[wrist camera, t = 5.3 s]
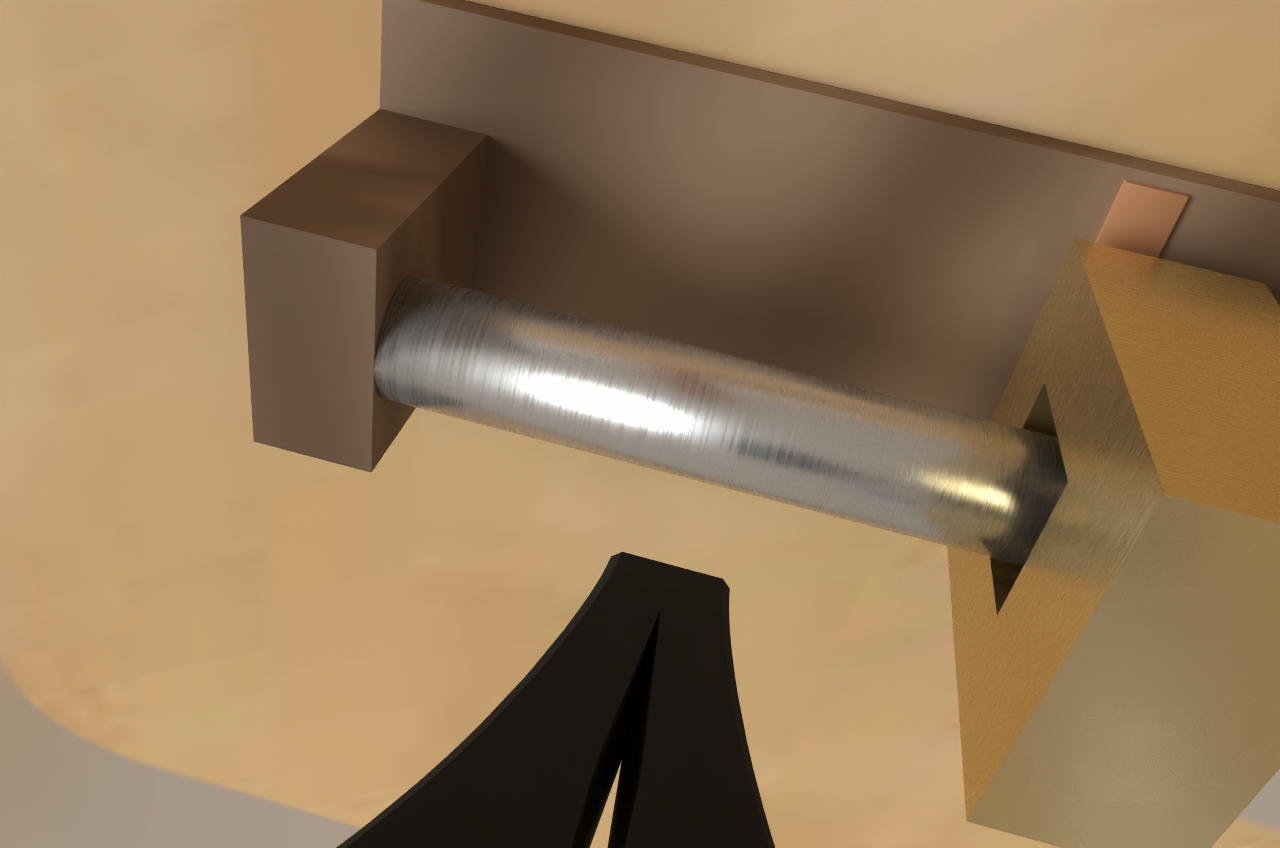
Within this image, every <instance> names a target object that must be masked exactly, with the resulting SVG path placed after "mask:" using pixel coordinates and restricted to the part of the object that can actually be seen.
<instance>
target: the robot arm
mask: <svg viewBox="0 0 1280 848" xmlns="http://www.w3.org/2000/svg"><path fill="white" fill-rule="evenodd" d="M729 592H730V588H729V587H728V585H727V584H726V583H725V581H724V580H723V579H721V578H718V577H714V576H710V575H707V574H703V573H699V572H695V571H692V570H688V569H684V568H681V567H677V566H673V565H669V564H666V563H662V562H658V561H654V560H651V559H647V558H643V557H640V556H636V555H632V554H628V553H625V552H621V553H619V554H616V555H614V556H611V558H610V560H609V562H608V564H607V566H606V568H605V570H604V572H603V574H602V576H601V577H600V579H599V581H598V582H597V584H596V586H595V587H594V589H593V590H592V592H591V593H590V595H589V596H588V598H587V599H586V601H585V602H584V604H583V605H582V606H581V608H580V609H579V610H578V612H577V613H576V615H575V616H574V617H573V619H572V620H571V621H570V623H569V624H568V625H567V627H566V628H565V629H564V631H563V632H562V633H561V634H560V635H559V637H558V638H557V639H556V640H555V642H554V643H553V644H552V645H551V646H550V648H549V649H548V650H547V651H546V652H545V654H544V655H543V656H542V657H541V659H540V660H539V661H538V662H537V663H536V665H535V666H534V667H533V668H532V669H531V671H530V672H529V673H528V674H527V675H526V676H525V677H524V679H523V680H522V681H521V682H520V683H519V684H518V685H517V686H516V687H515V688H514V689H513V690H512V691H511V692H510V694H509V695H508V696H507V697H506V698H505V699H504V700H503V701H502V702H501V703H500V704H499V705H498V706H497V707H496V708H495V709H494V710H493V712H492V713H491V714H490V715H489V716H488V717H487V718H486V719H485V720H484V721H483V722H482V723H481V724H480V725H479V726H478V727H477V728H476V729H475V730H474V731H473V732H472V733H471V734H470V735H469V736H468V737H467V738H466V739H465V740H464V741H463V742H462V743H461V744H460V745H459V746H458V747H456V748H455V749H454V750H453V751H452V752H451V753H450V754H449V755H448V756H447V757H446V758H445V759H444V760H442V761H441V762H440V763H439V764H438V765H437V766H436V767H435V768H434V769H432V770H431V771H430V772H429V773H428V774H427V775H426V776H425V777H424V778H422V779H421V780H420V781H419V782H418V783H417V784H416V785H414V786H413V787H412V788H411V789H409V790H408V791H407V792H406V793H405V794H403V795H402V796H401V797H400V798H399V799H397V800H396V801H395V802H394V803H393V804H391V805H390V806H389V807H388V808H386V809H385V810H384V811H383V812H382V813H380V814H379V815H378V816H377V817H376V818H374V819H373V820H372V821H371V822H369V823H368V824H367V825H365V826H364V827H363V828H362V829H360V830H359V831H358V832H357V833H355V834H354V835H353V836H351V837H350V838H349V839H347V840H346V841H345V842H344V843H342V844H341V845H339V846H338V847H337V848H590V845H591V843H592V840H593V837H594V834H595V832H596V829H597V826H598V823H599V821H600V818H601V815H602V813H603V810H604V807H605V804H606V802H607V799H608V796H609V793H610V791H611V788H612V785H613V782H614V780H615V777H616V774H617V771H618V769H619V766H620V763H621V768H620V774H619V780H618V787H617V793H616V799H615V805H614V811H613V817H612V823H611V830H610V836H609V842H608V848H775V846H774V842H773V839H772V836H771V833H770V829H769V826H768V822H767V819H766V815H765V812H764V809H763V805H762V801H761V797H760V793H759V789H758V786H757V782H756V778H755V774H754V770H753V766H752V762H751V757H750V753H749V749H748V745H747V740H746V734H745V729H744V724H743V719H742V714H741V709H740V704H739V699H738V693H737V686H736V680H735V673H734V665H733V657H732V649H731V638H730V624H729ZM621 760H622V762H621Z"/></svg>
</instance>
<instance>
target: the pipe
mask: <svg viewBox="0 0 1280 848" xmlns="http://www.w3.org/2000/svg"><path fill="white" fill-rule="evenodd" d="M374 384H375V389H376V392H377V394H378V395H379V397H380V398H382V399H386V400H390V401H394V402H397V403H401V404H405V405H409V406H413V407H417V408H421V409H424V410H428V411H432V412H436V413H440V414H444V415H447V416H451V417H455V418H459V419H463V420H467V421H470V422H474V423H478V424H482V425H486V426H490V427H493V428H497V429H501V430H505V431H509V432H513V433H516V434H520V435H524V436H528V437H532V438H536V439H539V440H543V441H547V442H551V443H555V444H559V445H563V446H566V447H570V448H574V449H578V450H582V451H586V452H589V453H593V454H597V455H601V456H605V457H609V458H612V459H616V460H620V461H624V462H628V463H632V464H635V465H639V466H643V467H647V468H651V469H655V470H658V471H662V472H666V473H670V474H674V475H678V476H681V477H685V478H689V479H693V480H697V481H701V482H705V483H708V484H712V485H716V486H720V487H724V488H728V489H731V490H735V491H739V492H743V493H747V494H751V495H754V496H758V497H762V498H766V499H770V500H774V501H777V502H781V503H785V504H789V505H793V506H797V507H800V508H804V509H808V510H812V511H816V512H820V513H823V514H827V515H831V516H835V517H839V518H843V519H847V520H850V521H854V522H858V523H862V524H866V525H870V526H873V527H877V528H881V529H885V530H889V531H893V532H896V533H900V534H904V535H908V536H912V537H916V538H919V539H923V540H927V541H931V542H935V543H939V544H942V545H946V546H950V547H954V548H958V549H962V550H965V551H969V552H973V553H977V554H981V555H985V556H989V557H992V558H996V559H1000V560H1004V561H1008V562H1012V563H1015V564H1019V565H1023V566H1024V564H1025V562H1026V561H1027V559H1028V557H1029V555H1030V553H1031V551H1032V549H1033V547H1034V545H1035V544H1036V542H1037V540H1038V538H1039V536H1040V534H1041V532H1042V530H1043V529H1044V527H1045V525H1046V523H1047V521H1048V519H1049V517H1050V515H1051V513H1052V512H1053V510H1054V508H1055V506H1056V504H1057V502H1058V500H1059V498H1060V496H1061V495H1062V493H1063V491H1064V489H1065V487H1066V485H1067V483H1068V479H1067V475H1066V471H1065V466H1064V462H1063V458H1062V454H1061V449H1060V445H1059V441H1058V437H1054V436H1050V435H1046V434H1042V433H1038V432H1034V431H1030V430H1026V429H1022V428H1018V427H1014V426H1010V425H1006V424H1002V423H998V422H995V421H991V420H987V419H983V418H979V417H975V416H971V415H967V414H963V413H959V412H955V411H951V410H947V409H943V408H939V407H935V406H931V405H927V404H923V403H919V402H915V401H911V400H907V399H903V398H899V397H895V396H891V395H887V394H883V393H880V392H876V391H872V390H868V389H864V388H860V387H856V386H852V385H848V384H844V383H840V382H836V381H832V380H828V379H824V378H820V377H816V376H812V375H808V374H804V373H800V372H796V371H792V370H788V369H784V368H780V367H776V366H772V365H768V364H765V363H761V362H757V361H753V360H749V359H745V358H741V357H737V356H733V355H729V354H725V353H721V352H717V351H713V350H709V349H705V348H701V347H697V346H693V345H689V344H685V343H681V342H677V341H673V340H669V339H665V338H661V337H657V336H653V335H650V334H646V333H642V332H638V331H634V330H630V329H626V328H622V327H618V326H614V325H610V324H606V323H602V322H598V321H594V320H590V319H586V318H582V317H578V316H574V315H570V314H566V313H562V312H558V311H554V310H550V309H546V308H542V307H538V306H535V305H531V304H527V303H523V302H519V301H515V300H511V299H507V298H503V297H499V296H495V295H491V294H487V293H483V292H479V291H475V290H471V289H467V288H463V287H459V286H455V285H451V284H447V283H443V282H439V281H435V280H431V279H427V278H423V277H420V276H416V275H409V276H407V277H406V278H404V279H403V280H402V282H401V283H400V284H399V285H398V287H397V288H396V290H395V292H394V294H393V295H392V297H391V300H390V302H389V304H388V306H387V309H386V311H385V314H384V317H383V320H382V324H381V327H380V331H379V335H378V339H377V344H376V350H375V358H374Z"/></svg>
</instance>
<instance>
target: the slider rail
mask: <svg viewBox="0 0 1280 848" xmlns="http://www.w3.org/2000/svg"><path fill="white" fill-rule="evenodd" d="M240 218H241V235H242V252H243V269H244V285H245V302H246V319H247V336H248V352H249V369H250V386H251V402H252V419H253V436H254V442H258V443H262V444H266V445H269V446H273V447H277V448H281V449H284V450H288V451H292V452H296V453H300V454H303V455H307V456H311V457H315V458H318V459H322V460H326V461H330V462H333V463H337V464H341V465H345V466H349V467H352V468H356V469H360V470H364V471H367V472H372V471H373V469H374V468H375V466H376V465H377V463H378V462H379V461H380V459H381V458H382V456H383V455H384V453H385V452H386V450H387V449H388V447H389V446H390V445H391V443H392V442H393V440H394V439H395V437H396V436H397V434H398V433H399V432H400V430H401V429H402V427H403V426H404V424H405V423H406V421H407V420H408V418H409V417H410V416H411V414H412V413H413V411H414V410H415V408H416V407H413V406H409V405H405V404H401V403H397V402H394V401H390V400H386V399H382V398H380V397H379V395H378V394H377V392H376V389H375V384H374V358H375V350H376V344H377V339H378V335H379V331H380V327H381V324H382V320H383V317H384V314H385V311H386V309H387V306H388V304H389V302H390V300H391V297H392V295H393V294H394V292H395V290H396V288H397V287H398V285H399V284H400V283H401V282H402V280H403V279H404V278H406V277H407V276H409V275H416V276H420V277H423V278H427V279H431V280H435V281H439V282H443V283H447V284H451V285H455V286H459V287H463V288H467V289H471V290H475V291H479V292H483V293H487V294H491V295H495V296H499V297H503V298H507V299H511V300H515V301H519V302H523V303H527V304H531V305H535V306H538V307H542V308H546V309H550V310H554V311H558V312H562V313H566V314H570V315H574V316H578V317H582V318H586V319H590V320H594V321H598V322H602V323H606V324H610V325H614V326H618V327H622V328H626V329H630V330H634V331H638V332H642V333H646V334H650V335H653V336H657V337H661V338H665V339H669V340H673V341H677V342H681V343H685V344H689V345H693V346H697V347H701V348H705V349H709V350H713V351H717V352H721V353H725V354H729V355H733V356H737V357H741V358H745V359H749V360H753V361H757V362H761V363H765V364H768V365H772V366H776V367H780V368H784V369H788V370H792V371H796V372H800V373H804V374H808V375H812V376H816V377H820V378H824V379H828V380H832V381H836V382H840V383H844V384H848V385H852V386H856V387H860V388H864V389H868V390H872V391H876V392H880V393H883V394H887V395H891V396H895V397H899V398H903V399H907V400H911V401H915V402H919V403H923V404H927V405H931V406H935V407H939V408H943V409H947V410H951V411H955V412H959V413H963V414H967V415H971V416H975V417H979V418H983V419H987V420H991V419H992V417H993V415H994V413H995V411H996V408H997V406H998V404H999V402H1000V400H1001V397H1002V395H1003V393H1004V391H1005V389H1006V386H1007V384H1008V382H1009V380H1010V378H1011V375H1012V373H1013V371H1014V369H1015V367H1016V364H1017V362H1018V360H1019V358H1020V356H1021V353H1022V351H1023V349H1024V347H1025V345H1026V342H1027V340H1028V338H1029V336H1030V334H1031V331H1032V329H1033V327H1034V325H1035V323H1036V320H1037V318H1038V316H1039V314H1040V312H1041V309H1042V307H1043V305H1044V303H1045V301H1046V298H1047V296H1048V294H1049V292H1050V290H1051V287H1052V285H1053V283H1054V281H1055V279H1056V276H1057V274H1058V272H1059V270H1060V268H1061V265H1062V263H1063V261H1064V259H1065V257H1066V254H1067V252H1068V250H1069V248H1070V246H1071V243H1072V241H1073V239H1074V238H1077V239H1081V240H1085V241H1089V242H1094V243H1098V244H1102V245H1106V246H1110V247H1114V248H1119V249H1123V250H1127V251H1131V252H1135V253H1139V254H1144V255H1148V256H1152V257H1156V258H1160V259H1165V260H1169V261H1173V262H1177V263H1181V264H1185V265H1190V266H1194V267H1198V268H1202V269H1206V270H1210V271H1215V272H1219V273H1223V274H1227V275H1231V276H1235V277H1240V278H1244V279H1248V280H1252V281H1256V282H1260V283H1265V285H1266V286H1267V288H1268V289H1269V291H1270V292H1271V294H1272V295H1273V297H1274V298H1275V300H1276V301H1277V303H1278V304H1279V306H1280V191H1276V190H1272V189H1268V188H1263V187H1259V186H1255V185H1251V184H1246V183H1242V182H1238V181H1234V180H1229V179H1225V178H1221V177H1216V176H1212V175H1208V174H1204V173H1199V172H1195V171H1191V170H1187V169H1182V168H1178V167H1174V166H1169V165H1165V164H1161V163H1157V162H1152V161H1148V160H1144V159H1140V158H1135V157H1131V156H1127V155H1122V154H1118V153H1114V152H1110V151H1105V150H1101V149H1097V148H1092V147H1088V146H1084V145H1080V144H1075V143H1071V142H1067V141H1063V140H1058V139H1054V138H1050V137H1045V136H1041V135H1037V134H1033V133H1028V132H1024V131H1020V130H1016V129H1011V128H1007V127H1003V126H998V125H994V124H990V123H986V122H981V121H977V120H973V119H969V118H964V117H960V116H956V115H951V114H947V113H943V112H939V111H934V110H930V109H926V108H922V107H917V106H913V105H909V104H904V103H900V102H896V101H892V100H887V99H883V98H879V97H874V96H870V95H866V94H862V93H857V92H853V91H849V90H845V89H840V88H836V87H832V86H827V85H823V84H819V83H815V82H810V81H806V80H802V79H798V78H793V77H789V76H785V75H780V74H776V73H772V72H768V71H763V70H759V69H755V68H751V67H746V66H742V65H738V64H733V63H729V62H725V61H721V60H716V59H712V58H708V57H704V56H699V55H695V54H691V53H686V52H682V51H678V50H674V49H669V48H665V47H661V46H656V45H652V44H648V43H644V42H639V41H635V40H631V39H627V38H622V37H618V36H614V35H609V34H605V33H601V32H597V31H592V30H588V29H584V28H580V27H575V26H571V25H567V24H562V23H558V22H554V21H550V20H545V19H541V18H537V17H533V16H528V15H524V14H520V13H515V12H511V11H507V10H503V9H498V8H494V7H490V6H486V5H481V4H477V3H473V2H468V1H464V0H383V1H382V44H381V86H380V109H379V110H378V111H377V112H375V113H374V114H373V115H371V116H370V117H369V118H367V119H366V120H365V121H363V122H362V123H361V124H360V125H358V126H357V127H356V128H354V129H353V130H352V131H350V132H349V133H348V134H346V135H345V136H344V137H343V138H341V139H340V140H339V141H337V142H336V143H335V144H333V145H332V146H331V147H329V148H328V149H327V150H326V151H324V152H323V153H322V154H320V155H319V156H318V157H316V158H315V159H314V160H312V161H311V162H310V163H308V164H307V165H306V166H305V167H303V168H302V169H301V170H299V171H298V172H297V173H295V174H294V175H293V176H291V177H290V178H289V179H288V180H286V181H285V182H284V183H282V184H281V185H280V186H278V187H277V188H276V189H274V190H273V191H272V192H271V193H269V194H268V195H267V196H265V197H264V198H263V199H261V200H260V201H259V202H257V203H256V204H255V205H254V206H252V207H251V208H250V209H248V210H247V211H246V212H244V213H243V214H242V215H240Z"/></svg>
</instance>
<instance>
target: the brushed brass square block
mask: <svg viewBox="0 0 1280 848" xmlns="http://www.w3.org/2000/svg"><path fill="white" fill-rule="evenodd" d="M991 421H995V422H998V423H1002V424H1006V425H1010V426H1014V427H1018V428H1022V429H1026V430H1030V431H1034V432H1038V433H1042V434H1046V435H1050V436H1054V437H1058V441H1059V445H1060V449H1061V454H1062V458H1063V462H1064V466H1065V471H1066V475H1067V479H1068V483H1067V485H1066V487H1065V489H1064V491H1063V493H1062V495H1061V496H1060V498H1059V500H1058V502H1057V504H1056V506H1055V508H1054V510H1053V512H1052V513H1051V515H1050V517H1049V519H1048V521H1047V523H1046V525H1045V527H1044V529H1043V530H1042V532H1041V534H1040V536H1039V538H1038V540H1037V542H1036V544H1035V545H1034V547H1033V549H1032V551H1031V553H1030V555H1029V557H1028V559H1027V561H1026V562H1025V564H1024V566H1023V565H1019V564H1015V563H1012V562H1008V561H1004V560H1000V559H996V558H992V557H989V556H985V555H981V554H977V553H973V552H969V551H965V550H962V549H958V548H954V547H950V546H948V561H949V575H950V589H951V604H952V618H953V632H954V647H955V661H956V675H957V690H958V704H959V719H960V733H961V747H962V762H963V776H964V790H965V805H966V819H967V821H968V822H971V823H975V824H979V825H982V826H986V827H990V828H993V829H997V830H1000V831H1004V832H1008V833H1011V834H1015V835H1018V836H1022V837H1026V838H1029V839H1033V840H1036V841H1040V842H1044V843H1047V844H1051V845H1054V846H1058V847H1062V848H1211V847H1212V846H1213V845H1214V843H1215V842H1216V841H1217V840H1218V839H1219V838H1220V836H1221V835H1222V834H1223V833H1224V832H1225V831H1226V830H1227V828H1228V827H1229V826H1230V825H1231V824H1232V823H1233V821H1234V820H1235V819H1236V818H1237V817H1238V816H1239V814H1240V813H1241V812H1242V811H1243V810H1244V809H1245V808H1246V806H1247V805H1248V804H1249V803H1250V802H1251V801H1252V799H1253V798H1254V797H1255V796H1256V795H1257V794H1258V792H1259V791H1260V790H1261V789H1262V788H1263V787H1264V786H1265V784H1266V783H1267V782H1268V781H1269V780H1270V779H1271V777H1272V776H1273V775H1274V774H1275V773H1276V771H1277V770H1278V769H1279V768H1280V306H1279V304H1278V303H1277V301H1276V300H1275V298H1274V297H1273V295H1272V294H1271V292H1270V291H1269V289H1268V288H1267V286H1266V285H1265V283H1260V282H1256V281H1252V280H1248V279H1244V278H1240V277H1235V276H1231V275H1227V274H1223V273H1219V272H1215V271H1210V270H1206V269H1202V268H1198V267H1194V266H1190V265H1185V264H1181V263H1177V262H1173V261H1169V260H1165V259H1160V258H1156V257H1152V256H1148V255H1144V254H1139V253H1135V252H1131V251H1127V250H1123V249H1119V248H1114V247H1110V246H1106V245H1102V244H1098V243H1094V242H1089V241H1085V240H1081V239H1077V238H1074V239H1073V241H1072V243H1071V246H1070V248H1069V250H1068V252H1067V254H1066V257H1065V259H1064V261H1063V263H1062V265H1061V268H1060V270H1059V272H1058V274H1057V276H1056V279H1055V281H1054V283H1053V285H1052V287H1051V290H1050V292H1049V294H1048V296H1047V298H1046V301H1045V303H1044V305H1043V307H1042V309H1041V312H1040V314H1039V316H1038V318H1037V320H1036V323H1035V325H1034V327H1033V329H1032V331H1031V334H1030V336H1029V338H1028V340H1027V342H1026V345H1025V347H1024V349H1023V351H1022V353H1021V356H1020V358H1019V360H1018V362H1017V364H1016V367H1015V369H1014V371H1013V373H1012V375H1011V378H1010V380H1009V382H1008V384H1007V386H1006V389H1005V391H1004V393H1003V395H1002V397H1001V400H1000V402H999V404H998V406H997V408H996V411H995V413H994V415H993V417H992V419H991Z"/></svg>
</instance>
